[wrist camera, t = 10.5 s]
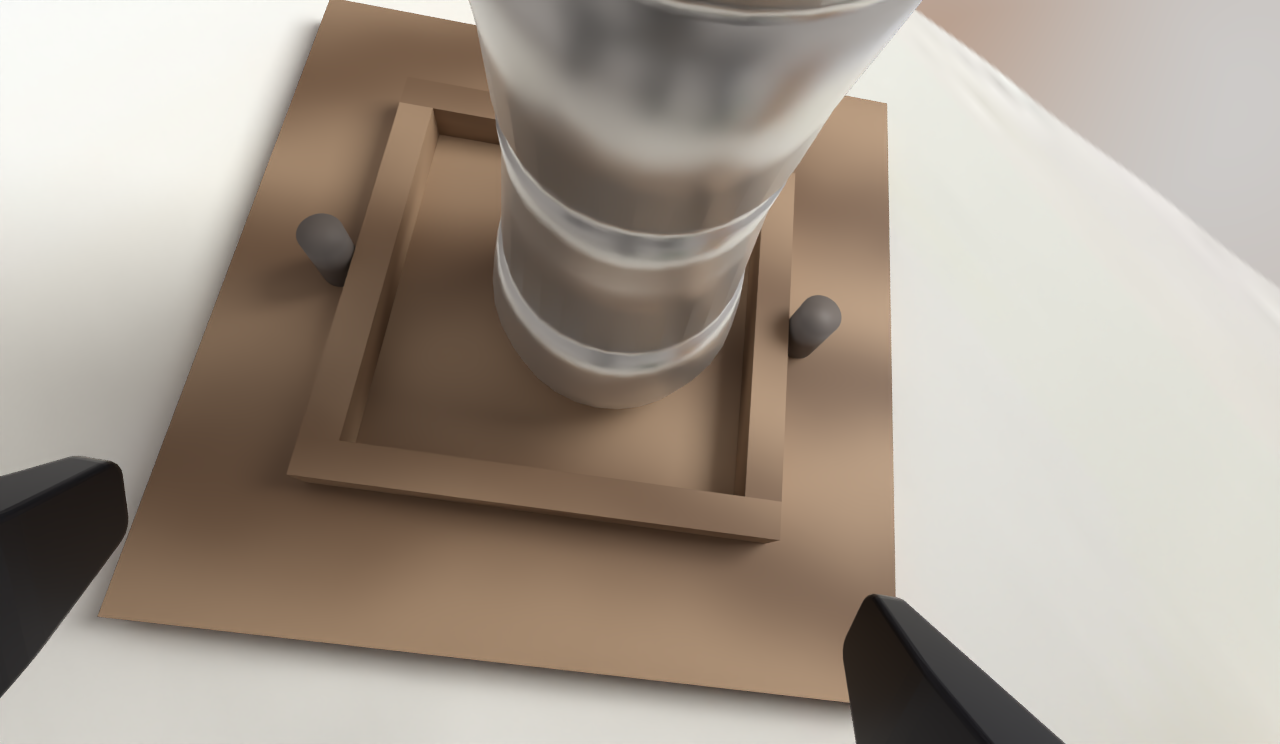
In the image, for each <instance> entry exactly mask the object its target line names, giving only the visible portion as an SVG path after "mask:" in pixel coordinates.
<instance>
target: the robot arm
mask: <svg viewBox="0 0 1280 744" xmlns="http://www.w3.org/2000/svg"><path fill="white" fill-rule="evenodd" d="M127 526H128V512H127V504H126V497H125V489H124V481H123V474H122V470H121V469H120V467H119V466H118V465H117V464H116V463H114V462H112V461H108V460H102V459H96V458H90V457H85V456H72V457H67V458H64V459H60V460H57V461H53V462H50V463H46V464H43V465H39V466H36V467H32V468H29V469H25V470H22V471H18V472H15V473H11V474H7V475H4V476H0V698H1V696H2V695H3V694H4V693H5V692H6V691H7V690H8V689H9V688H10V686H11V685H12V684H13V683H14V682H15V681H16V679H17V678H18V677H19V676H20V675H21V674H22V672H23V671H24V670H25V669H26V668H27V666H28V665H29V664H30V663H31V662H32V660H33V659H34V658H35V657H36V655H37V654H38V653H39V651H40V650H41V649H42V648H43V646H44V645H45V644H46V643H47V641H48V640H49V639H50V637H51V636H52V634H53V633H54V632H55V630H56V629H57V628H58V626H59V625H60V624H61V622H62V621H63V620H64V618H65V617H66V616H67V614H68V613H69V611H70V610H71V609H72V607H73V606H74V605H75V603H76V602H77V601H78V599H79V598H80V597H81V595H82V594H83V593H84V591H85V590H86V588H87V587H88V586H89V584H90V583H91V582H92V580H93V579H94V578H95V576H96V575H97V574H98V572H99V571H100V570H101V568H102V567H103V565H104V564H105V563H106V561H107V560H108V559H109V557H110V556H111V555H112V553H113V552H114V551H115V549H116V548H117V547H118V545H119V544H120V542H121V541H122V539H123V537H124V535H125V533H126V530H127ZM843 663H844V670H845V676H846V683H847V689H848V695H849V702H850V708H851V715H852V721H853V727H854V734H855V740H856V744H1065V743H1064V742H1063V741H1062V740H1061V739H1059V738H1058V737H1057V736H1056V735H1055V734H1054V733H1053V732H1052V731H1050V730H1049V729H1048V728H1047V727H1046V726H1045V725H1044V724H1043V723H1041V722H1040V721H1039V720H1038V719H1037V718H1036V717H1035V716H1034V715H1032V714H1031V713H1030V712H1029V711H1028V710H1027V709H1026V708H1025V707H1023V706H1022V705H1021V704H1020V703H1019V702H1018V701H1017V700H1016V699H1014V698H1013V697H1012V696H1011V695H1010V694H1009V693H1008V692H1007V691H1005V690H1004V689H1003V688H1002V687H1001V686H1000V685H999V684H998V683H996V682H995V681H994V680H993V679H992V678H991V677H990V676H989V675H987V674H986V673H985V672H984V671H983V670H982V669H981V668H979V667H978V666H977V665H976V664H975V663H974V662H973V661H972V660H970V659H969V658H968V657H967V656H966V655H965V654H964V653H963V652H961V651H960V650H959V649H958V648H957V647H956V646H955V645H954V644H952V643H951V642H950V641H949V640H948V639H947V638H946V637H945V636H943V635H942V634H941V633H940V632H939V631H938V630H937V629H936V628H934V627H933V626H932V625H931V624H930V623H929V622H928V621H927V620H925V619H924V618H923V617H922V616H921V615H920V614H919V613H918V612H916V611H915V610H914V609H913V608H912V607H911V606H910V605H909V604H907V603H906V602H905V601H904V600H902V599H900V598H897V597H892V596H886V595H880V594H870V595H868V596H867V597H866V598H865V599H864V600H863V602H862V604H861V606H860V608H859V610H858V612H857V614H856V616H855V618H854V620H853V622H852V624H851V627H850V629H849V631H848V633H847V635H846V637H845V640H844V644H843Z"/></svg>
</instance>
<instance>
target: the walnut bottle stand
mask: <svg viewBox="0 0 1280 744" xmlns="http://www.w3.org/2000/svg"><path fill="white" fill-rule="evenodd" d="M500 219H501V147H500V142H499V137H498V133H497V128H496V119H495V111H494V108H493V105H492V102H491V98H490V92H489V87H488V82H487V77H486V72H485V67H484V62H483V57H482V52H481V47H480V42H479V37H478V32H477V27H476V25H472V24H466V23H461V22H456V21H451V20H445V19H440V18H435V17H430V16H424V15H419V14H414V13H409V12H403V11H398V10H393V9H388V8H382V7H377V6H372V5H367V4H361V3H356V2H351V1H346V0H329V3H328V5H327V8H326V11H325V13H324V16H323V19H322V21H321V24H320V27H319V29H318V32H317V35H316V37H315V40H314V43H313V45H312V48H311V51H310V53H309V56H308V59H307V61H306V64H305V67H304V69H303V72H302V75H301V77H300V80H299V82H298V85H297V88H296V90H295V93H294V96H293V98H292V101H291V104H290V106H289V109H288V112H287V114H286V117H285V120H284V122H283V125H282V128H281V130H280V133H279V136H278V138H277V141H276V144H275V146H274V149H273V152H272V154H271V157H270V160H269V162H268V165H267V167H266V170H265V173H264V175H263V178H262V181H261V183H260V186H259V189H258V191H257V194H256V197H255V199H254V202H253V205H252V207H251V210H250V213H249V215H248V218H247V221H246V223H245V226H244V229H243V231H242V234H241V237H240V239H239V242H238V245H237V247H236V250H235V252H234V255H233V258H232V260H231V263H230V266H229V268H228V271H227V274H226V276H225V279H224V282H223V284H222V287H221V290H220V292H219V295H218V298H217V300H216V303H215V306H214V308H213V311H212V314H211V316H210V319H209V322H208V324H207V327H206V329H205V332H204V335H203V337H202V340H201V343H200V345H199V348H198V351H197V353H196V356H195V359H194V361H193V364H192V367H191V369H190V372H189V375H188V377H187V380H186V383H185V385H184V388H183V391H182V393H181V396H180V399H179V401H178V404H177V407H176V409H175V412H174V414H173V417H172V420H171V422H170V425H169V428H168V430H167V433H166V436H165V438H164V441H163V444H162V446H161V449H160V452H159V454H158V457H157V460H156V462H155V465H154V468H153V470H152V473H151V476H150V478H149V481H148V484H147V486H146V489H145V492H144V494H143V497H142V499H141V502H140V505H139V507H138V510H137V513H136V515H135V518H134V521H133V523H132V526H131V529H130V531H129V534H128V537H127V539H126V542H125V545H124V547H123V550H122V553H121V555H120V558H119V561H118V563H117V566H116V569H115V571H114V574H113V577H112V579H111V582H110V584H109V587H108V590H107V592H106V595H105V598H104V600H103V603H102V606H101V608H100V611H99V614H98V616H97V617H105V618H114V619H123V620H131V621H140V622H149V623H158V624H166V625H175V626H184V627H192V628H201V629H210V630H219V631H227V632H236V633H245V634H254V635H262V636H271V637H280V638H289V639H297V640H306V641H315V642H324V643H332V644H341V645H350V646H359V647H367V648H376V649H385V650H394V651H402V652H411V653H420V654H429V655H437V656H446V657H455V658H464V659H472V660H481V661H490V662H498V663H507V664H516V665H525V666H533V667H542V668H551V669H560V670H568V671H577V672H586V673H595V674H603V675H612V676H621V677H630V678H638V679H647V680H656V681H665V682H673V683H682V684H691V685H700V686H708V687H717V688H726V689H735V690H743V691H752V692H761V693H770V694H778V695H787V696H796V697H805V698H813V699H822V700H831V701H839V702H848V703H850V702H849V695H848V689H847V683H846V676H845V670H844V663H843V644H844V640H845V637H846V635H847V633H848V631H849V629H850V627H851V624H852V622H853V620H854V618H855V616H856V614H857V612H858V610H859V608H860V606H861V604H862V602H863V600H864V599H865V598H866V597H867V596H868V595H870V594H880V595H886V596H892V597H895V540H894V482H893V424H892V366H891V308H890V250H889V192H888V134H887V103H881V102H876V101H871V100H866V99H860V98H855V97H850V96H844V98H843V99H842V100H841V101H840V103H839V104H838V105H837V106H836V107H835V109H834V110H833V112H832V113H831V115H830V116H829V118H828V119H827V121H826V123H825V124H824V126H823V127H822V129H821V130H820V132H819V133H818V135H817V137H816V138H815V140H814V141H813V143H812V144H811V146H810V147H809V149H808V150H807V152H806V154H805V155H804V157H803V158H802V160H801V161H800V163H799V164H798V166H797V167H796V169H795V170H794V171H793V173H792V174H791V175H790V177H789V178H788V179H787V182H786V184H785V186H784V188H783V189H782V191H781V192H780V194H779V195H778V197H777V198H776V200H775V201H774V203H773V204H772V206H771V207H770V209H769V210H768V212H767V215H766V217H765V220H764V222H763V225H762V227H761V230H760V232H759V235H758V237H757V240H756V243H755V245H754V248H753V250H752V253H751V255H750V258H749V260H748V263H747V265H746V268H745V273H744V280H743V285H742V290H741V295H740V300H739V304H738V307H737V310H736V314H735V317H734V320H733V323H732V326H731V328H730V331H729V333H728V335H727V338H726V340H725V342H724V344H723V347H722V348H721V349H720V351H719V352H718V354H717V355H716V356H715V358H714V359H713V361H712V362H711V363H710V365H709V366H708V367H706V368H705V369H704V370H703V371H702V372H701V373H700V374H699V375H698V376H697V377H695V378H694V379H693V380H692V381H691V382H689V383H687V384H686V385H684V386H683V387H681V388H680V389H678V390H676V391H674V392H673V393H671V394H669V395H668V396H666V397H664V398H662V399H661V400H658V401H655V402H652V403H649V404H646V405H643V406H640V407H633V408H625V409H607V408H596V407H592V406H589V405H585V404H581V403H578V402H574V401H573V400H571V399H569V398H567V397H565V396H563V395H561V394H559V393H557V392H555V391H554V390H552V389H551V388H550V387H548V386H547V385H546V384H545V383H543V382H542V381H541V380H540V379H538V378H537V377H536V376H535V374H534V373H533V372H532V371H531V370H530V369H529V367H528V366H527V365H526V364H525V363H524V361H523V360H522V359H521V357H520V356H519V354H518V353H517V352H516V350H515V349H514V347H513V346H512V344H511V342H510V340H509V338H508V337H507V335H506V333H505V331H504V329H503V327H502V325H501V322H500V319H499V315H498V312H497V309H496V306H495V300H494V289H493V269H494V254H495V246H496V239H497V231H498V227H499V223H500Z"/></svg>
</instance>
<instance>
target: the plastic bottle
mask: <svg viewBox="0 0 1280 744" xmlns="http://www.w3.org/2000/svg"><path fill="white" fill-rule="evenodd" d="M921 2H922V0H469V3H470V6H471V9H472V12H473V16H474V19H475V22H476V27H477V32H478V37H479V42H480V47H481V52H482V57H483V62H484V67H485V72H486V77H487V82H488V87H489V92H490V98H491V102H492V105H493V108H494V111H495V119H496V128H497V133H498V137H499V142H500V147H501V219H500V223H499V227H498V231H497V239H496V246H495V254H494V269H493V289H494V300H495V306H496V309H497V312H498V315H499V319H500V322H501V325H502V327H503V329H504V331H505V333H506V335H507V337H508V338H509V340H510V342H511V344H512V346H513V347H514V349H515V350H516V352H517V353H518V354H519V356H520V357H521V359H522V360H523V361H524V363H525V364H526V365H527V366H528V367H529V369H530V370H531V371H532V372H533V373H534V374H535V376H536V377H537V378H538V379H540V380H541V381H542V382H543V383H545V384H546V385H547V386H548V387H550V388H551V389H552V390H554V391H555V392H557V393H559V394H561V395H563V396H565V397H567V398H569V399H571V400H573V401H574V402H578V403H581V404H585V405H589V406H592V407H596V408H607V409H625V408H633V407H640V406H643V405H646V404H649V403H652V402H655V401H658V400H661V399H662V398H664V397H666V396H668V395H669V394H671V393H673V392H674V391H676V390H678V389H680V388H681V387H683V386H684V385H686V384H687V383H689V382H691V381H692V380H693V379H694V378H695V377H697V376H698V375H699V374H700V373H701V372H702V371H703V370H704V369H705V368H706V367H708V366H709V365H710V363H711V362H712V361H713V359H714V358H715V356H716V355H717V354H718V352H719V351H720V349H721V348H722V347H723V344H724V342H725V340H726V338H727V335H728V333H729V331H730V328H731V326H732V323H733V320H734V317H735V314H736V310H737V307H738V304H739V300H740V295H741V290H742V285H743V280H744V273H745V268H746V265H747V263H748V260H749V258H750V255H751V253H752V250H753V248H754V245H755V243H756V240H757V237H758V235H759V232H760V230H761V227H762V225H763V222H764V220H765V217H766V215H767V212H768V210H769V209H770V207H771V206H772V204H773V203H774V201H775V200H776V198H777V197H778V195H779V194H780V192H781V191H782V189H783V188H784V186H785V184H786V182H787V179H788V178H789V177H790V175H791V174H792V173H793V171H794V170H795V169H796V167H797V166H798V164H799V163H800V161H801V160H802V158H803V157H804V155H805V154H806V152H807V150H808V149H809V147H810V146H811V144H812V143H813V141H814V140H815V138H816V137H817V135H818V133H819V132H820V130H821V129H822V127H823V126H824V124H825V123H826V121H827V119H828V118H829V116H830V115H831V113H832V112H833V110H834V109H835V107H836V106H837V105H838V104H839V103H840V101H841V100H842V99H843V98H844V96H845V95H846V94H847V93H848V91H849V90H850V89H851V88H852V87H853V85H854V84H855V83H856V82H857V80H858V79H859V78H860V77H861V75H862V74H863V73H864V72H865V71H866V69H867V68H868V67H869V66H870V64H871V63H872V62H873V61H874V59H875V58H876V57H877V56H878V55H879V53H880V52H881V51H882V50H883V48H884V47H885V46H886V45H887V43H888V42H889V41H890V40H891V39H892V37H893V36H894V35H895V34H896V32H897V31H898V30H899V29H900V27H901V26H902V25H903V24H904V23H905V21H906V20H907V19H908V18H909V16H910V15H911V14H912V13H913V11H914V10H915V9H916V8H917V7H918V5H919V4H920V3H921Z"/></svg>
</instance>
